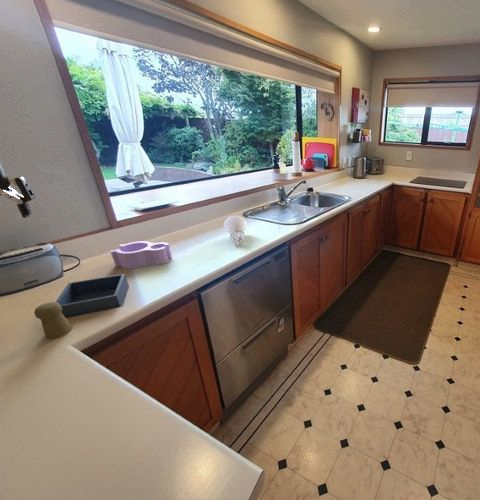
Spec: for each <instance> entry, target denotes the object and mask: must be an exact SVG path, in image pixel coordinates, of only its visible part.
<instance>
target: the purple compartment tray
mask: <svg viewBox="0 0 480 500" xmlns="http://www.w3.org/2000/svg"><path fill="white" fill-rule="evenodd" d="M110 254H111V257H112V260H113V263H114V266H115V267H122V268H123V269H137V268H142V267H145V266H151V265H155V266H159V265H164V264H168V263H169V262H170V260H171V259H173V256H172V251H171V247H170V243H168V242H163V241H161V242H150V241H146V240H145V241H144V240H143V241H132V242H129V243H124V244H123V243H120V244H118V248H117V249H112V250H110Z"/></svg>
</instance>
